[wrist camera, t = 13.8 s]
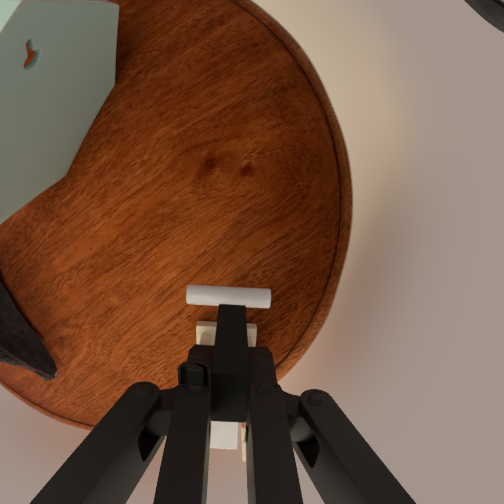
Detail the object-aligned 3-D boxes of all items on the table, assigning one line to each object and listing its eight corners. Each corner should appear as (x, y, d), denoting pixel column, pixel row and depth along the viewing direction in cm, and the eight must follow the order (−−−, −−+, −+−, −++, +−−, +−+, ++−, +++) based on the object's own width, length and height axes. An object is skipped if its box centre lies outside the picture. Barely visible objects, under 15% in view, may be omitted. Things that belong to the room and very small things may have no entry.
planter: (67, 92, 29) (58, -64, 10) (116, 117, 31) (128, -55, 12) (-27, 208, 23) (-132, 82, 4) (19, 246, 24) (-104, 119, 5)
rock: (-14, 244, 28) (-63, 266, 20) (66, 363, 33) (34, 408, 24) (-36, 273, 29) (-79, 297, 20) (37, 380, 34) (7, 421, 25)
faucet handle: (189, 285, 24) (185, 282, 22) (268, 289, 25) (272, 287, 22) (185, 434, 22) (181, 446, 20) (260, 438, 22) (264, 449, 20)
